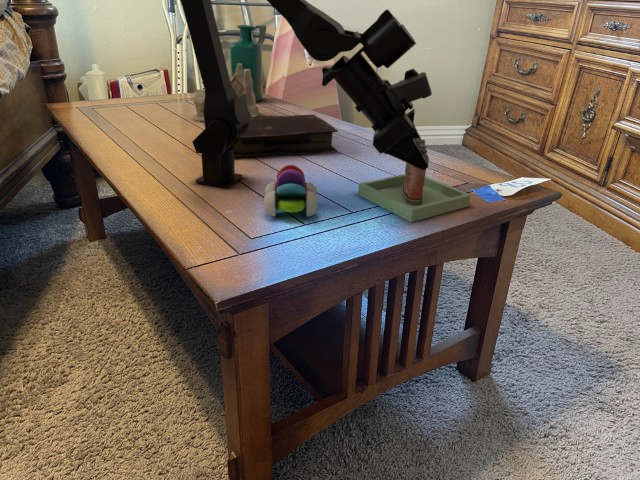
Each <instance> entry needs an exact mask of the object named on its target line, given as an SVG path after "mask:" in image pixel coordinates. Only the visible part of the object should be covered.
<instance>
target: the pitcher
mask: <svg viewBox="0 0 640 480" xmlns="http://www.w3.org/2000/svg"><path fill="white" fill-rule="evenodd" d="M236 28H237V29H239V39H238V40H237V41H234V42H232V43H231V44H230V46H229V58H230V59H229V61H230V62H229V63H230V77H233V76H234V75H235V74H236V68H237V65H238V64H242V68H243V75H242V76H243V77H244V69H250V71H251V78H252V81H253V82H252V87H253V93H254V95H255V100H256V103H258V102H260V101H261V100H263V98H264V94H263V93H264V79H263V78H264V77H263V74H264V73H263V70H264V69H263V68H264V66H263V65H264V64H263V44H264V43H265V39H266V35H267V34H266V33H267V26H266V24H260V25H256V26H254V25H251V24H238V25H236ZM254 31H255V32H256V31H259V32H258V39H257V41H255V40H254V39H253V32H254Z"/></svg>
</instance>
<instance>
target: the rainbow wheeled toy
mask: <svg viewBox="0 0 640 480" xmlns="http://www.w3.org/2000/svg"><path fill="white" fill-rule="evenodd" d="M277 209H278V210H279V211H281V212H286V213H299V212H302V211H304V210H305V215H306V217H307V218H309V217H311V216H314V215H315V214H316V213H317V212H318V211H319V198H318V188H317V187H316V185H314V184H313V183H312V182H308V181H307V182H306V176H305V173H304V171H303V170H302V169H301V168H300V167H298V166H296V165H294V164H288V165H285V166H282V168H280V170H278V172H277V174H276V181H271V182H270V183H268V184H267V185H266V187H265V189H264V197H263V210H264V212H265V213H266V214H267V215H269V216H271V217H276V216H277Z"/></svg>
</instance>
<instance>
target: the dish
mask: <svg viewBox="0 0 640 480" xmlns="http://www.w3.org/2000/svg"><path fill="white" fill-rule="evenodd" d="M404 182H405V173H403V174H398V175H393V176H388V177H384V178H379V179H374V180H369V181H364V182H360V183H358V190H357V191H358V192H357V195H358V196H360V197H363V198H364V199H365V200H368V201H369V202H372V203H374V204H375V205H377V206H379V207H381V208H383V209H385V210H387V211H389V212H391V213H393V214H394V215H396V216H398V217H400V218H402V219H403V220H406V221H408V222H410V223H413V222H416V221H420V220H424V219H428V218H431V217H435V216H438V215H443V214H446V213H449V212H453V211H457V210H460V209H465V208H468V207H470V203H471V197H472V195H471V194H469V193H467V192H466V191H465V192H464V191H463V190H460V189H458V188H455V187H452V186H450V185H449V184H448V185H447V184H445V183H443V182H441V181H438V180H436V179H434V178H431V177H428V176H427V175H425V180H424V186H423V193H422V194H423V200H422V205H419V206H414V205H409V204H407V203H406V202H405V200H404V199H403V197H402V188H403V185H404Z"/></svg>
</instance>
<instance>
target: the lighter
mask: <svg viewBox="0 0 640 480" xmlns="http://www.w3.org/2000/svg"><path fill="white" fill-rule="evenodd" d="M415 142H416V144H417V146H418V147H419V149H420V151H421V153H422V155H423V156H424V158H425V160H426V162H427V164H428V165H429V163H430V157H429V155H428V154H427V153H426V149H427V147H426V140H425V139H422V138H421V139H419V138H415ZM426 173H427V168H426V169H425V170H421V169H419V168H417V167H415V166H413V165H411V164H409V163H407V162H405V167H404V174H405V182H404V185H403V188H402V197H403V199H404V200H405V202H406V203H407V204H409V205H414V206H419V205H422V200H423V194H422V193H423V186H424V180H425V176H426Z"/></svg>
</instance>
